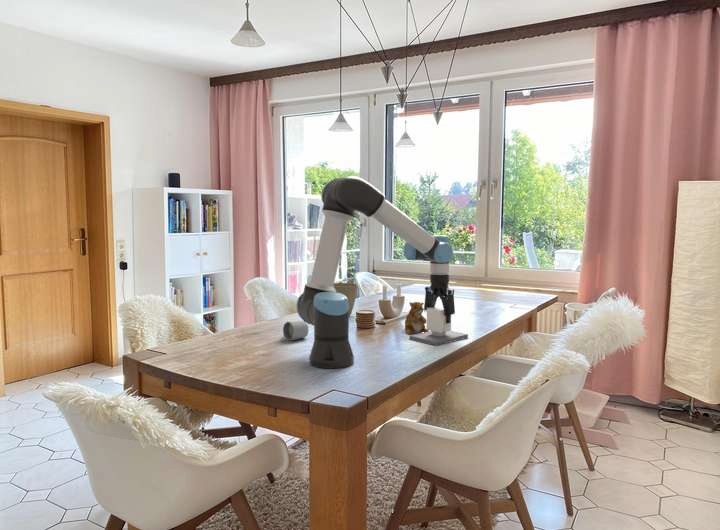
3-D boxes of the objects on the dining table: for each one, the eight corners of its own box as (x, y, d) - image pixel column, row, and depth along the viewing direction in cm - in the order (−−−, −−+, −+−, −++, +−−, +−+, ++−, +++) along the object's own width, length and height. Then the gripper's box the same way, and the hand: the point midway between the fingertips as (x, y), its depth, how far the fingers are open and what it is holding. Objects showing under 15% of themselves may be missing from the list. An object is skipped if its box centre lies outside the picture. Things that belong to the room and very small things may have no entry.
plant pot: (331, 312, 270) (331, 282, 269) (359, 313, 268) (359, 282, 267) (325, 318, 256) (325, 286, 254) (355, 319, 254) (355, 286, 252)
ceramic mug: (309, 339, 212) (309, 320, 212) (293, 342, 207) (293, 323, 206) (294, 335, 220) (294, 317, 219) (278, 338, 214) (277, 319, 214)
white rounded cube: (439, 332, 208) (439, 310, 207) (426, 329, 213) (426, 308, 212) (451, 330, 212) (451, 308, 211) (437, 327, 218) (438, 306, 217)
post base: (435, 345, 201) (435, 326, 200) (409, 339, 212) (409, 320, 211) (467, 337, 214) (468, 319, 213) (441, 332, 225) (441, 315, 224)
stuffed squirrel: (408, 335, 219) (408, 304, 218) (398, 328, 233) (399, 299, 232) (430, 334, 221) (431, 303, 220) (420, 327, 235) (420, 298, 234)
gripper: (465, 274, 205) (464, 332, 208) (427, 271, 221) (426, 324, 223) (452, 276, 201) (452, 335, 203) (415, 272, 216) (414, 326, 218)
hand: (438, 329), depth 213 cm, fingers closed on white rounded cube, 7 cm apart
